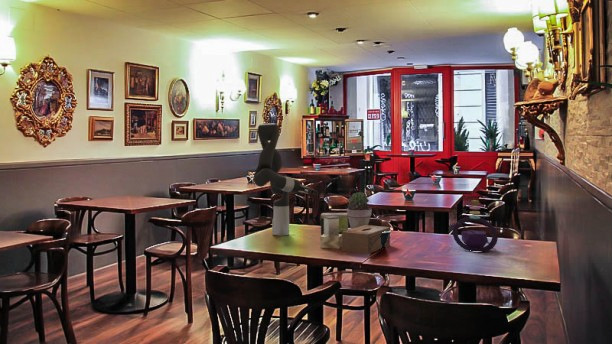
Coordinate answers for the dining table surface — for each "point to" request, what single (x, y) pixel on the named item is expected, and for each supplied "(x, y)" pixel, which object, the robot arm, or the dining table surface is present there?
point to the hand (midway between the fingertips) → (313, 191)
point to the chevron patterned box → (331, 241)
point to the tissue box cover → (364, 239)
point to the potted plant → (359, 210)
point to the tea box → (342, 221)
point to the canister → (331, 226)
